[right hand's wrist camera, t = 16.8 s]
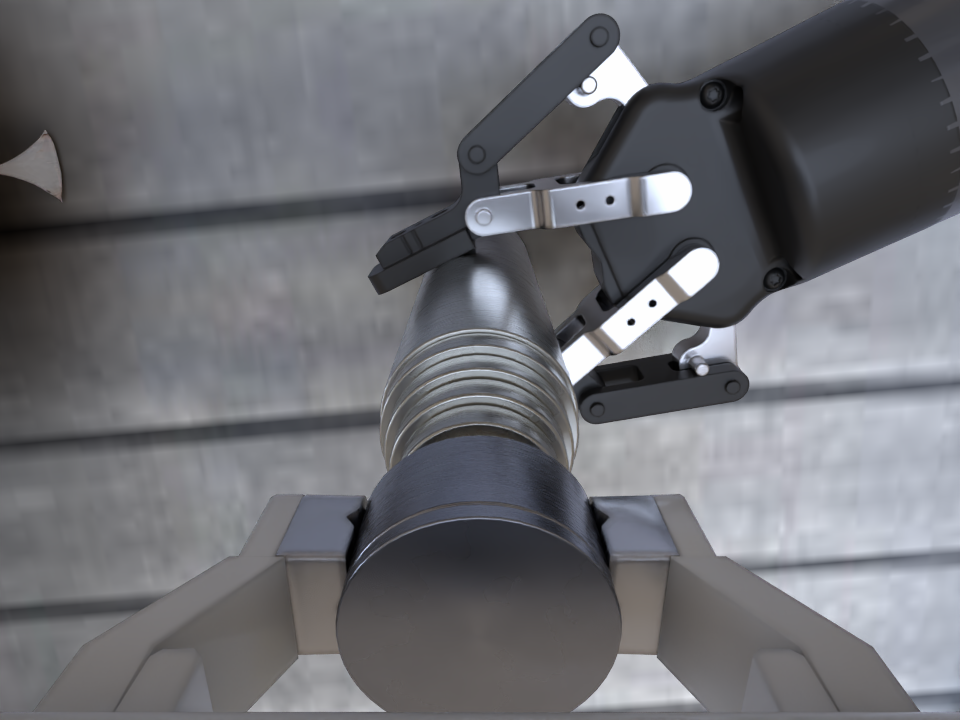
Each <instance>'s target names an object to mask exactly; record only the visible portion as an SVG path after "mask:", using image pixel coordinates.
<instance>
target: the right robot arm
mask: <svg viewBox="0 0 960 720" xmlns="http://www.w3.org/2000/svg"><path fill="white" fill-rule="evenodd" d="M589 501H590V504H591V508H592V511H593V515H594V518H595V522H596V525H597V528H598V531H599V535H600V539H601V543H602V546H603V550H604V553H605V557H606V561H607V564H608V568H609V571H610V574H611V577H612V580H613V584H614V587H615V591H616V595H617V598H618V602H619V605H620V610H621V618H622V636H621V641H620V646H619V651H618V654H644V655H657V658H658V659H659V660H660V661H661V662H662V663H663V664H664V665H665V666H666V667H667V669H668V670H669V671H670V672H671V673H672V674H673V675H674V676H675V677H676V678H677V679H678V680H679V681H680V682H681V683H682V684H683V685H684V686H685V687H686V688H687V690H688V691H689V692H690V693H691V694H692V695H693V696H694V697H695V698H696V699H697V700H698V701H699V702H700V703H701V704H702V705H703V706H704V707H705V708H706V709H707V710H708V712H247V711H248V710H249V709H250V708H251V707H252V706H253V705H254V703H255V702H256V701H257V700H258V699H259V698H260V697H261V696H262V695H263V694H264V693H265V692H266V691H267V690H268V689H269V688H270V687H271V686H272V685H273V684H274V683H275V682H276V681H277V680H278V679H279V678H280V677H281V675H282V674H283V673H284V672H285V671H286V670H287V669H288V668H289V667H290V666H291V665H292V664H293V663H294V662H295V661H296V660H297V659H298V655H311V654H340V652H339V649H338V644H337V639H336V614H337V607H338V603H339V600H340V596H341V593H342V590H343V586H344V582H345V579H346V576H347V572H348V569H349V565H350V562H351V558H352V555H353V551H354V548H355V544H356V540H357V537H358V533H359V530H360V527H361V523H362V520H363V516H364V513H365V509H366V506H367V503H368V502H367V499H366V497H365V496H344V495H303V494H300V495H275V496H273V497H271V498H270V500H269V502H268V503H267V505H266V507H265V509H264V511H263V513H262V514H261V516H260V518H259V520H258V522H257V523H256V525H255V527H254V529H253V531H252V533H251V534H250V536H249V538H248V540H247V542H246V543H245V545H244V547H243V549H242V551H241V553H240V554H239V556H229V557H228V558H226V559H224V560H223V561H221V562H219V563H218V564H216V565H214V566H213V567H211V568H209V569H208V570H206V571H205V572H203V573H201V574H200V575H198V576H196V577H195V578H193V579H191V580H190V581H188V582H186V583H185V584H183V585H182V586H180V587H178V588H177V589H175V590H173V591H172V592H170V593H168V594H167V595H165V596H163V597H162V598H160V599H159V600H157V601H155V602H154V603H152V604H150V605H149V606H147V607H145V608H144V609H142V610H140V611H139V612H137V613H136V614H134V615H132V616H131V617H129V618H127V619H126V620H124V621H122V622H121V623H119V624H117V625H116V626H114V627H113V628H111V629H109V630H108V631H106V632H104V633H103V634H101V635H99V636H98V637H96V638H94V639H93V640H91V641H90V642H88V643H86V644H85V645H83V646H82V647H81V648H80V650H79V651H78V652H77V654H76V655H75V656H74V658H73V659H72V660H71V662H70V663H69V664H68V666H67V667H66V668H65V670H64V671H63V672H62V674H61V675H60V676H59V678H58V679H57V680H56V682H55V683H54V684H53V686H52V687H51V688H50V690H49V691H48V692H47V694H46V695H45V696H44V698H43V699H42V700H41V702H40V703H39V704H38V706H37V707H36V708H35V710H34V711H33V712H0V720H960V712H920V711H919V709H918V708H917V707H916V705H915V704H914V702H913V701H912V700H911V698H910V697H909V696H908V694H907V693H906V692H905V690H904V689H903V687H902V686H901V685H900V683H899V682H898V681H897V679H896V678H895V677H894V675H893V674H892V672H891V671H890V670H889V668H888V667H887V666H886V664H885V663H884V662H883V660H882V659H881V658H880V656H879V655H878V653H877V652H876V651H875V649H874V648H873V647H872V646H870V645H869V644H867V643H866V642H864V641H862V640H861V639H859V638H857V637H856V636H854V635H853V634H851V633H849V632H848V631H846V630H844V629H843V628H841V627H840V626H838V625H836V624H835V623H833V622H831V621H830V620H828V619H827V618H825V617H823V616H822V615H820V614H818V613H817V612H815V611H814V610H812V609H810V608H809V607H807V606H805V605H804V604H802V603H801V602H799V601H797V600H796V599H794V598H793V597H791V596H789V595H788V594H786V593H784V592H783V591H781V590H780V589H778V588H776V587H775V586H773V585H771V584H770V583H768V582H767V581H765V580H763V579H762V578H760V577H758V576H757V575H755V574H754V573H752V572H750V571H749V570H747V569H745V568H744V567H742V566H741V565H739V564H737V563H736V562H734V561H732V560H731V559H729V558H728V557H726V556H716V554H715V552H714V551H713V549H712V547H711V545H710V543H709V541H708V540H707V538H706V536H705V534H704V532H703V530H702V529H701V527H700V525H699V523H698V521H697V519H696V518H695V516H694V514H693V512H692V510H691V508H690V507H689V505H688V503H687V501H686V499H685V497H683V496H682V495H680V494H670V495H650V496H606V497H590V498H589Z"/></svg>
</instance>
